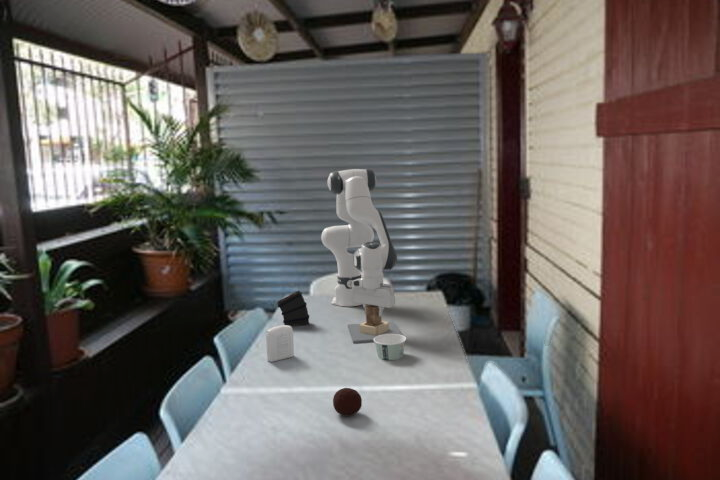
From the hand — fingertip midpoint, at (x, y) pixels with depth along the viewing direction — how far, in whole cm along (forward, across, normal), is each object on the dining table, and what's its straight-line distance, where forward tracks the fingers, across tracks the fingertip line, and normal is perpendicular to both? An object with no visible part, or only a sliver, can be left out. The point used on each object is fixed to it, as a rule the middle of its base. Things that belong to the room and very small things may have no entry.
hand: (373, 315), depth 241 cm
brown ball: (+8, -39, +64) cm, 76 cm away
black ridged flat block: (+8, +38, +9) cm, 39 cm away
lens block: (+3, 0, 0) cm, 3 cm away
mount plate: (+8, 0, 0) cm, 8 cm away
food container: (+8, -21, +18) cm, 29 cm away
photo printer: (+8, +11, +42) cm, 45 cm away
